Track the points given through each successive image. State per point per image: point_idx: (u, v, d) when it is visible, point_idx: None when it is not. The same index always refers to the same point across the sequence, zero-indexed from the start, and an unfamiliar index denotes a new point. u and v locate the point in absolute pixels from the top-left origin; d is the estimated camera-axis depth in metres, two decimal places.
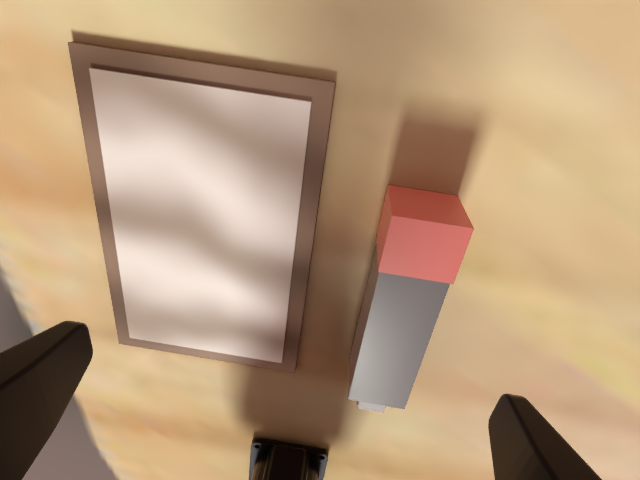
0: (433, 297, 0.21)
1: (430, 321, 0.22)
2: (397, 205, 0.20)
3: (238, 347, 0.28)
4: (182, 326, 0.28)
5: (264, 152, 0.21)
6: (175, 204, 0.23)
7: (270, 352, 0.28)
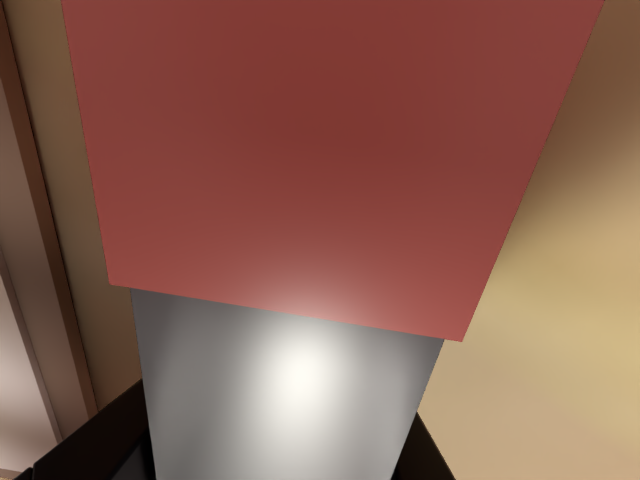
0: (377, 389, 0.05)
1: (374, 466, 0.06)
2: None
3: None
4: None
5: None
6: None
7: (36, 459, 0.12)
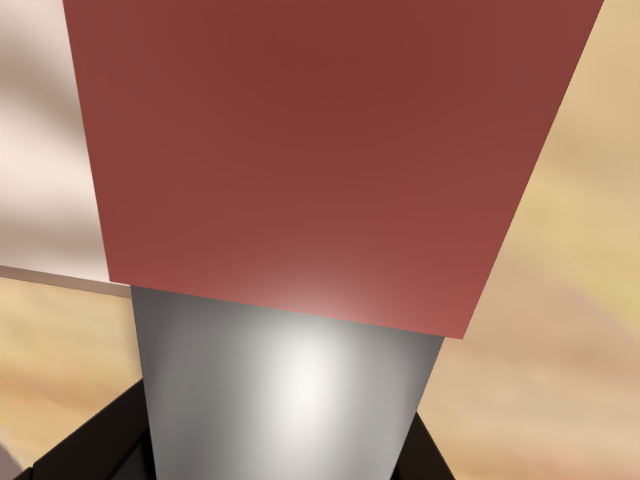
0: (377, 386, 0.05)
1: (374, 464, 0.06)
2: None
3: None
4: (45, 241, 0.20)
5: None
6: None
7: None
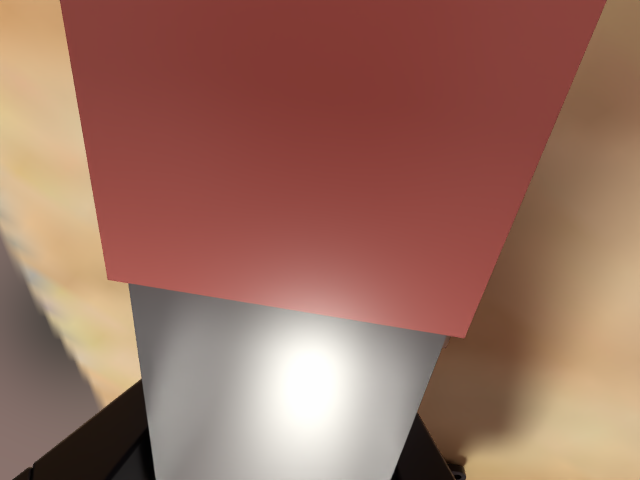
0: (378, 386, 0.05)
1: (374, 464, 0.06)
2: None
3: None
4: None
5: None
6: None
7: None
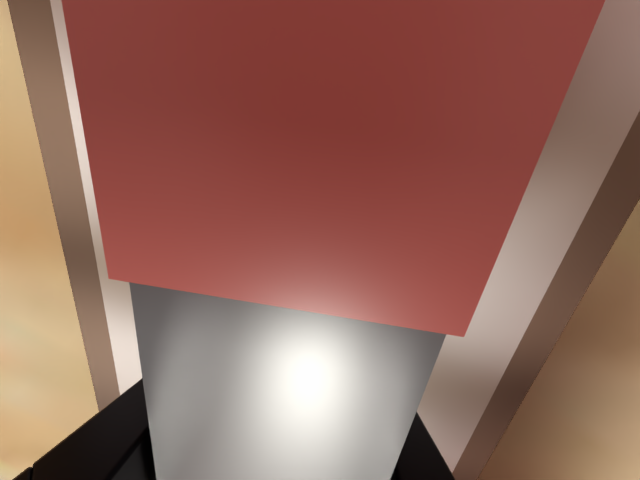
0: (378, 385, 0.05)
1: (374, 463, 0.06)
2: None
3: None
4: None
5: None
6: None
7: None
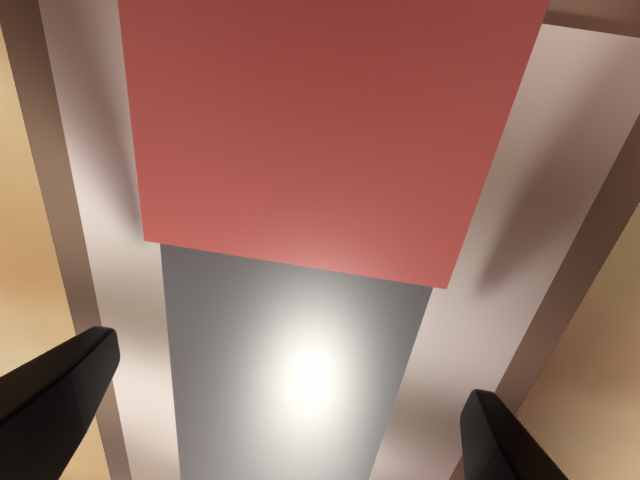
0: (374, 337, 0.06)
1: (372, 412, 0.07)
2: None
3: None
4: None
5: (489, 183, 0.08)
6: None
7: None
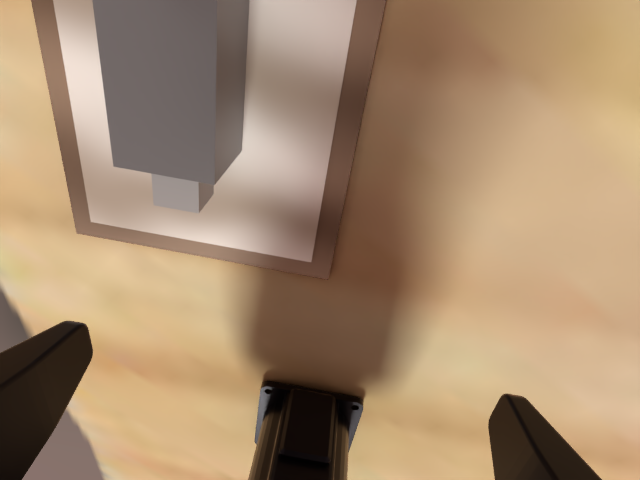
0: None
1: None
2: None
3: (249, 236, 0.19)
4: None
5: None
6: None
7: (296, 244, 0.19)
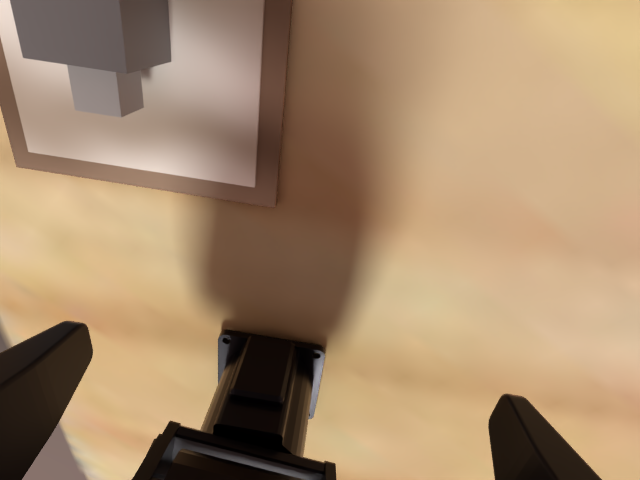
0: None
1: None
2: None
3: (189, 160, 0.19)
4: (102, 123, 0.18)
5: None
6: None
7: (237, 167, 0.19)
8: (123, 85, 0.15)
